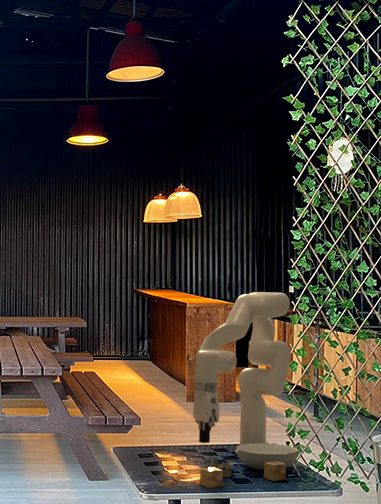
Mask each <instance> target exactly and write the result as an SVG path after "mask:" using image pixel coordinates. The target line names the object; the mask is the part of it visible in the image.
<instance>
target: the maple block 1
mask: <svg viewBox="0 0 381 504" xmlns="http://www.w3.org/2000/svg"><path fill="white" fill-rule="evenodd" d="M199 472H200V473H199V474H200V475H199V476H200V477H199V480H200V481H199V485H200V486H202V487H204V488H207V489H212V488H213V489H214V488H222V487H223V482H224V481H223V479H224V478H223V470H221V469H218V468H215V467H210V466H209V467H201V468H200V471H199Z"/></svg>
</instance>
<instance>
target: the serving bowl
mask: <svg viewBox="0 0 381 504" xmlns="http://www.w3.org/2000/svg"><path fill="white" fill-rule="evenodd" d="M236 450H237V454H238V455H237V454H236V455H237V457H238V459H239V460H240V462H241V463H242V464H243V465H245V466H247V467H249V468H251V469H254V470H257V471H262V472H264V462H272V461H278V462H281V463H285V464H286V469H287V468H288V467H291V466H292V465H293V464H294V463H295V462H296V460H297V458H298V455H299V449H298V448H297V447H294V446H290V445H286V444H278V443H276V444H244V445H240V444H239V445H238V446H236Z"/></svg>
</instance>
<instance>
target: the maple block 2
mask: <svg viewBox="0 0 381 504" xmlns="http://www.w3.org/2000/svg"><path fill="white" fill-rule="evenodd" d="M286 477H287V468H286V464H285V463H281V462H278V461H272V462H264V471H263V478H264V479H266V480H269V481H272V482H277V481H286Z"/></svg>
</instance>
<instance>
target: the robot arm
mask: <svg viewBox="0 0 381 504" xmlns="http://www.w3.org/2000/svg"><path fill="white" fill-rule="evenodd" d="M290 306H291V303H290V299H289V297H288V295H287V294H286V293H284V292H270V291H269V292H268V291H267V292H265V291H258V292H257V291H256V292H251V293H247V294H246V293H244V294H242V295H239V296H238V297H237V298H236V300H235V302H234V303H233V306H232V308H231V310H230V312H229V314H228V316H227V318H226V320H225V322H224V323H223V324H222V325H220V326H218V327H217V328H216V329H214V330H213V331H212V332H211V333H209V334H208V335H207V336H206V337H205V338H204V339H203V341H202V343H201V345H200V347H199V349H198V351H197V352H196V358H195V382H194V383H195V385H194V392H195V393H194V399H193V410H192V416H193V419H194V421H195V423H196V424H197V425H198V432H199V433H198V434H199V435H198V442H199V443H200V444H208V443H210V441H211V431H212V428H213V427H216V423H218V422H219V421H220V399H219V393H218V386H219V385H218V382H219V379H218V378H219V373H230V372H232V371H234V369H235V368H236V366H237V362H238V361H237V360H238V359H237V356H236V354H235V353H234V352H232V351H231V350H226V349H225V350H224V349H219V348H221V347H222V346H224V345H227V344H229V343H232V342H235V341H239V340H240V339H242V338H244V337H245V336H246V335H247V333H248V330H249V328H250V327H251V324H252V331H251V337H250V341H249V342H250V343H249V346H248V353H247V359H248V361H249V363H251V364H252V365H255V366H261V368H259V367H247V368H244V369H242V370H241V371H240V373H239V375H238V387H239V395H240V417H239V418H240V421H239V425H240V426H239V446H240V445H244V444H277V442H269V441H267V403H266V401H265V398H264V397H263V396H270V397H278V396H281V395H282V394H283V392H284V391H285V388H286V384H287V378H288V373H289V368H290V362H291V350H290V347H289V345H288V343H286V342H285V341H280V340H275V335H276V326H275V323H274V321H273V320H272V319H273V318H278V317H282V316H285V315H286V314H288V312H289V309H290ZM262 367H271V368H270V369H269V368H262ZM235 455H237V456H238V454H237V449H235Z"/></svg>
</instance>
